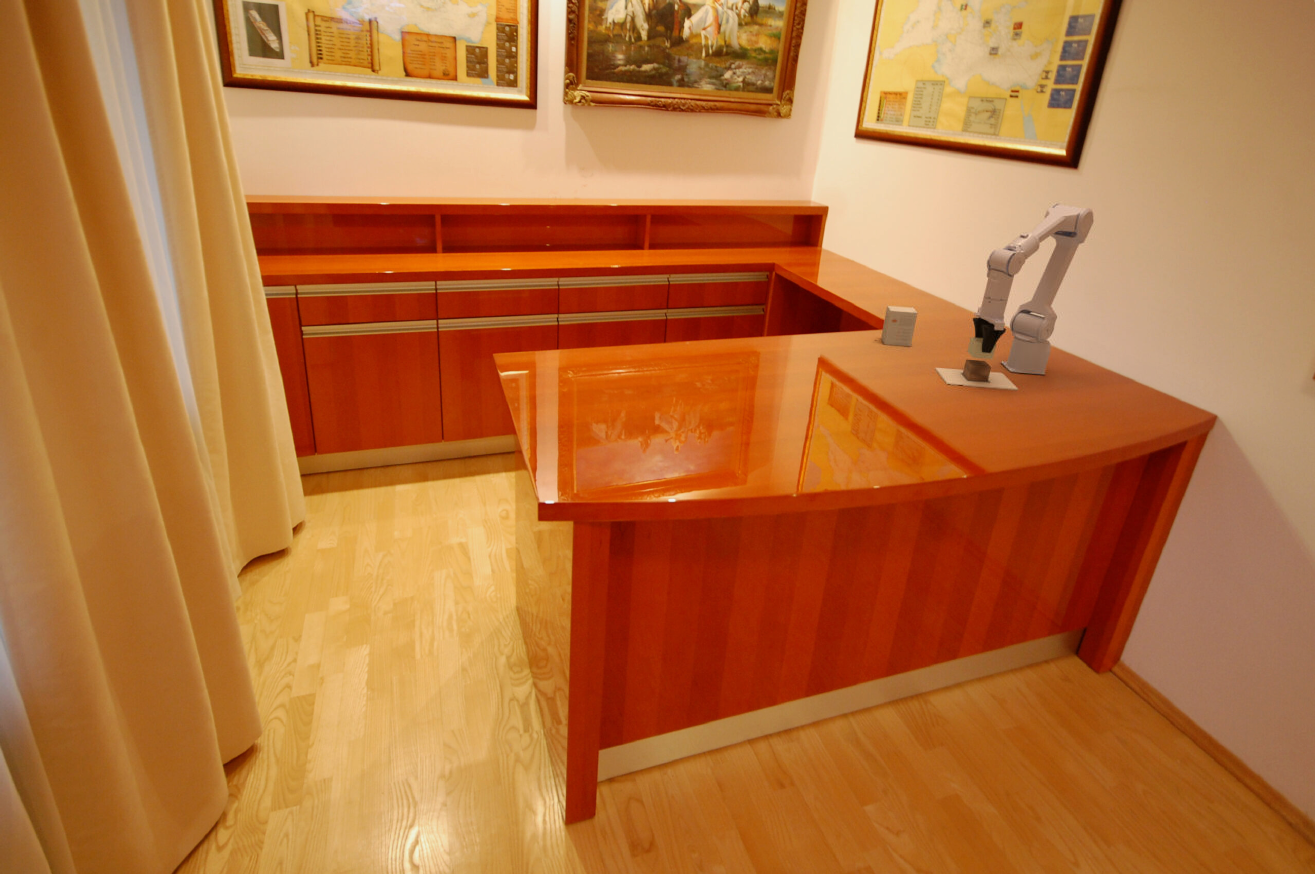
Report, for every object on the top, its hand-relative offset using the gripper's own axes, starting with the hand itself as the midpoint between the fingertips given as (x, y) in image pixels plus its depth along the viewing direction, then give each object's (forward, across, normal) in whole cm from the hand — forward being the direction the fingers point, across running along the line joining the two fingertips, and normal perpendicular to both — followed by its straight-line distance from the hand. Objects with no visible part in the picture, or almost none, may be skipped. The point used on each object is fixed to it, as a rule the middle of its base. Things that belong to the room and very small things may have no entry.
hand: (982, 349), depth 194 cm
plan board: (+8, 0, 0) cm, 8 cm away
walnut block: (+8, 0, 0) cm, 8 cm away
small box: (+9, -28, -15) cm, 33 cm away
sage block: (+2, 0, 0) cm, 2 cm away
